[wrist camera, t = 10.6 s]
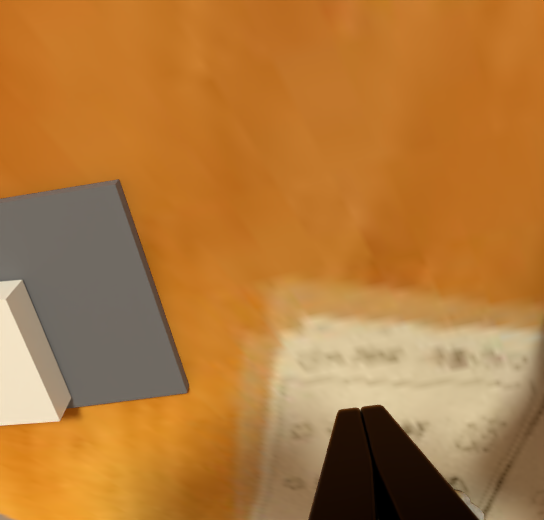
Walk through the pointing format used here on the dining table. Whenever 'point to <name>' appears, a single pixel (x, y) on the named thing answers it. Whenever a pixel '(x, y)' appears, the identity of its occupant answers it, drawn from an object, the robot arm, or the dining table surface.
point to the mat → (91, 292)
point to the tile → (27, 363)
